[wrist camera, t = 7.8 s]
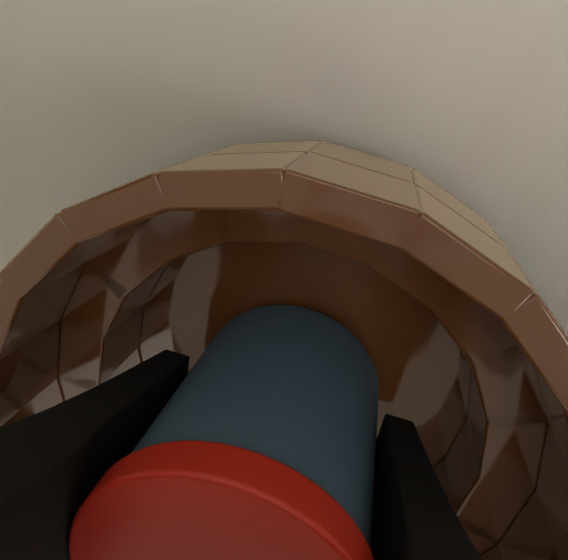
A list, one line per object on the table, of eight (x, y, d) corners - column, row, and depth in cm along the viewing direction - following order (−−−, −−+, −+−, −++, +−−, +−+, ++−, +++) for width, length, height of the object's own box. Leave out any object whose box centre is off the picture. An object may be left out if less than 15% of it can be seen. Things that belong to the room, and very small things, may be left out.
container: (349, 275, 11) (307, 449, 6) (408, 443, 12) (419, 709, 7) (171, 323, 12) (11, 494, 7) (242, 467, 14) (150, 697, 8)
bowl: (474, 48, 9) (537, 14, 5) (581, 511, 13) (670, 712, 9) (24, 229, 13) (-142, 292, 9) (199, 544, 17) (136, 692, 13)
